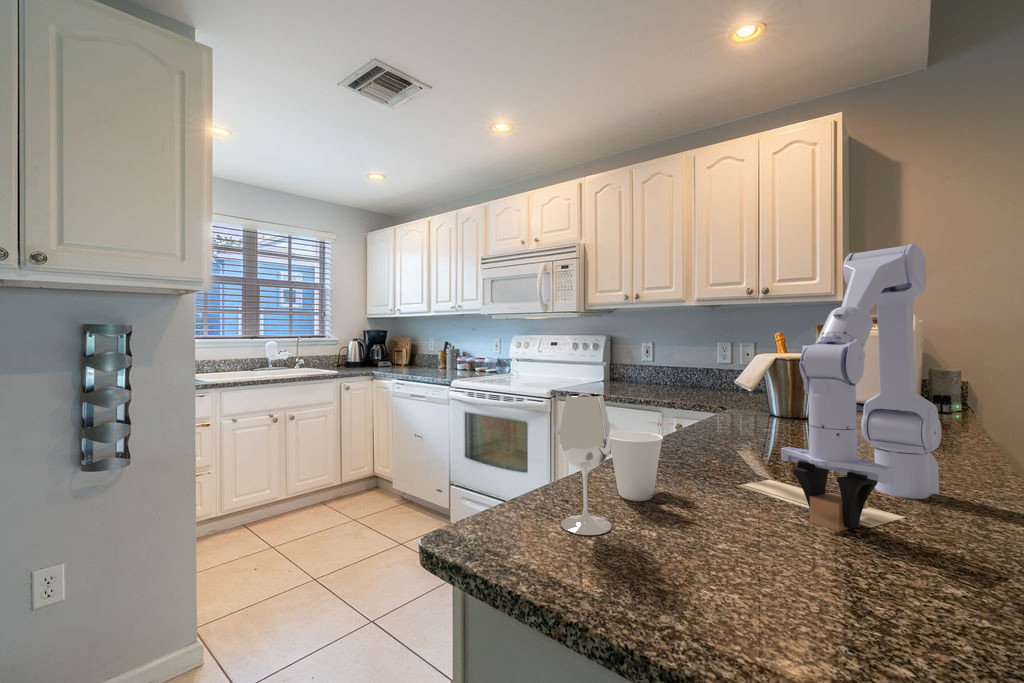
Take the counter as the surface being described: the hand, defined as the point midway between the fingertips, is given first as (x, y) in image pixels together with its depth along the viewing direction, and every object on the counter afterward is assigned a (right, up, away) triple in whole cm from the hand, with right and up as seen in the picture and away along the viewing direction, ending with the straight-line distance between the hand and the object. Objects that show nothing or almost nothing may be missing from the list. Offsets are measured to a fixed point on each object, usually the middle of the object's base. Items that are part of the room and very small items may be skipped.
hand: (833, 521), depth 67 cm
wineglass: (-35, -3, +4) cm, 35 cm away
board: (+4, -2, +10) cm, 11 cm away
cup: (-24, -3, +18) cm, 30 cm away
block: (+2, -2, +1) cm, 3 cm away
